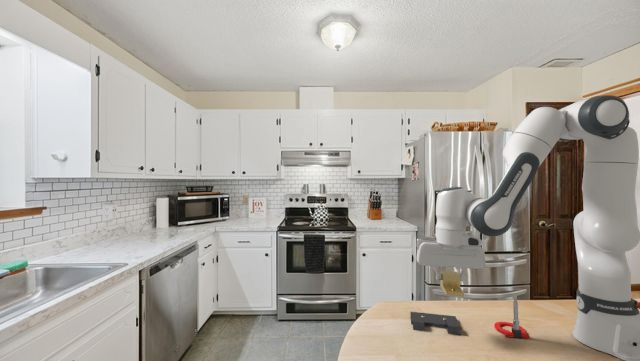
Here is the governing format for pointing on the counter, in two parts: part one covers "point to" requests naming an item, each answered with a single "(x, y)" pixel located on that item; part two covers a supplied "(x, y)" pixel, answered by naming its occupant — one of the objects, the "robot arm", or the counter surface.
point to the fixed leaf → (435, 322)
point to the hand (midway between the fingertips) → (449, 280)
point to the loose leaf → (451, 283)
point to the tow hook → (513, 324)
